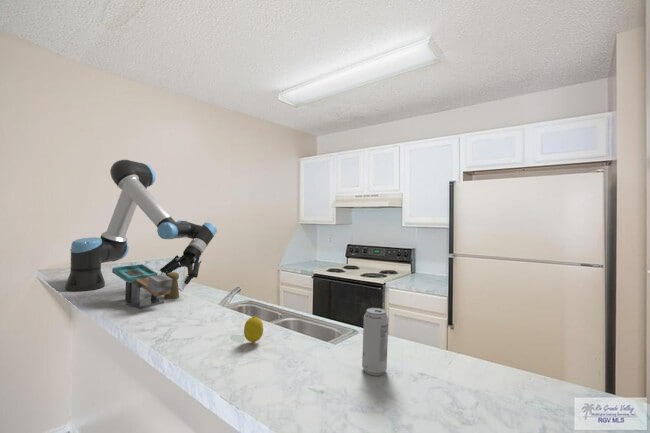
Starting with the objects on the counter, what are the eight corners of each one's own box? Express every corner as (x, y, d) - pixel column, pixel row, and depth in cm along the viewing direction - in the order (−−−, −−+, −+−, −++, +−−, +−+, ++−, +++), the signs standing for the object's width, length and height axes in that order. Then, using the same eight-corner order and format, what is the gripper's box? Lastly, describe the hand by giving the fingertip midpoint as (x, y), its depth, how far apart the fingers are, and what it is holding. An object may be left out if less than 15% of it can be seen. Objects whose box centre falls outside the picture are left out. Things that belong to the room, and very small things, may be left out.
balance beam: (140, 272, 142) (143, 257, 141) (176, 294, 128) (179, 278, 127) (111, 276, 132) (113, 260, 131) (147, 300, 118) (149, 283, 117)
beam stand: (142, 296, 139) (142, 276, 139) (164, 303, 131) (165, 281, 131) (117, 301, 131) (118, 279, 131) (139, 309, 122) (140, 285, 122)
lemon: (246, 348, 90) (246, 320, 90) (241, 341, 95) (242, 314, 95) (265, 345, 92) (266, 317, 92) (259, 338, 97) (260, 312, 97)
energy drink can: (367, 363, 83) (369, 305, 83) (389, 369, 80) (391, 309, 80) (358, 372, 78) (360, 311, 78) (381, 379, 75) (383, 315, 75)
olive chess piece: (182, 296, 143) (182, 271, 143) (174, 299, 137) (175, 274, 137) (169, 295, 143) (170, 271, 143) (161, 298, 137) (161, 273, 137)
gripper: (170, 243, 154) (141, 279, 140) (212, 246, 145) (185, 286, 131) (178, 253, 159) (151, 289, 145) (219, 256, 150) (194, 296, 136)
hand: (167, 288), depth 138 cm, fingers open, 13 cm apart
